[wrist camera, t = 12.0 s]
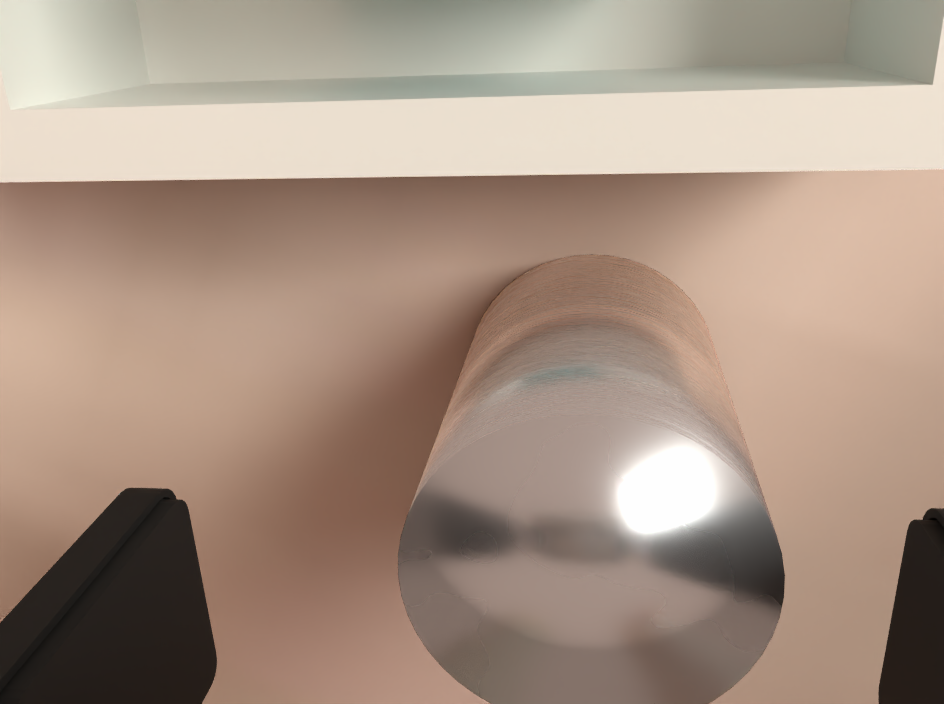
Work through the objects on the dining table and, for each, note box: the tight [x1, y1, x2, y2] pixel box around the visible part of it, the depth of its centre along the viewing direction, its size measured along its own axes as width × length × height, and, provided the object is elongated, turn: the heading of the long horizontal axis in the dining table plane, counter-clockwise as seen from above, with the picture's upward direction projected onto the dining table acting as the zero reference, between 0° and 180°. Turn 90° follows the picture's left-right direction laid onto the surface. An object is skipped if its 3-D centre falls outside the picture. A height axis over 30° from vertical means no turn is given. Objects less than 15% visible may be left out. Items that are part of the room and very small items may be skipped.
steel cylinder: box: [398, 254, 785, 704], centre depth 14 cm, size 5×5×7 cm
